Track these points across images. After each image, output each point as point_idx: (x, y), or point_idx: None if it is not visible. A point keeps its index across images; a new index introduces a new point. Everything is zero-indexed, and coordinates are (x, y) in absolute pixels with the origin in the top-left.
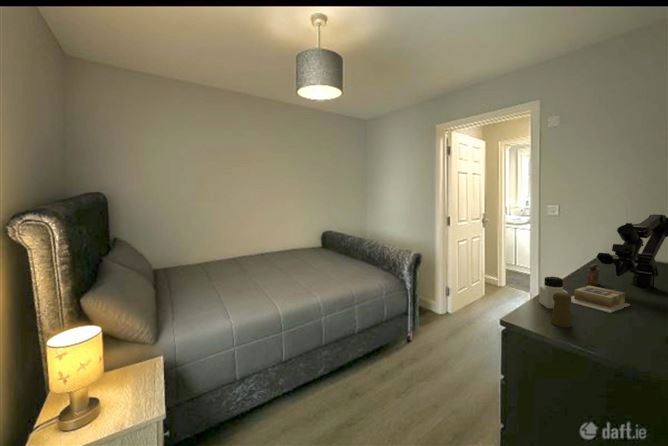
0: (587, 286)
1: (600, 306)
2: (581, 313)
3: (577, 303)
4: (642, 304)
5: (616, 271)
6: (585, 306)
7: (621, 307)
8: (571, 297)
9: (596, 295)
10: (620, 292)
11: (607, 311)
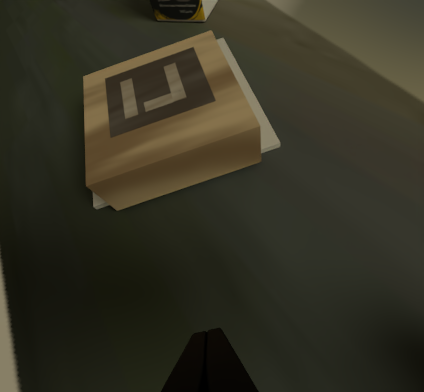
0: (241, 102)
1: None
2: (124, 34)
3: None
4: (77, 284)
5: (231, 363)
6: None
7: None
8: (234, 70)
9: (131, 62)
10: (100, 168)
11: None
